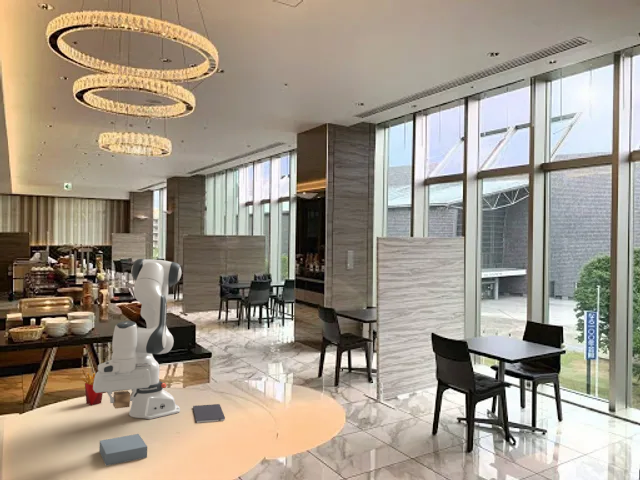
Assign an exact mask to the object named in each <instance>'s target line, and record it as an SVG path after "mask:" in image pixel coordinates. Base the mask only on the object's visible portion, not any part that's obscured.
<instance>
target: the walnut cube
mask: <svg viewBox="0 0 640 480" xmlns="http://www.w3.org/2000/svg"><path fill="white" fill-rule="evenodd" d="M130 395H131V392H130V391H129V390H119V391H113V396H112V397H115V403H112V406H113V407H114V409H116V410H117V409H123V408H131V401H130Z"/></svg>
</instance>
